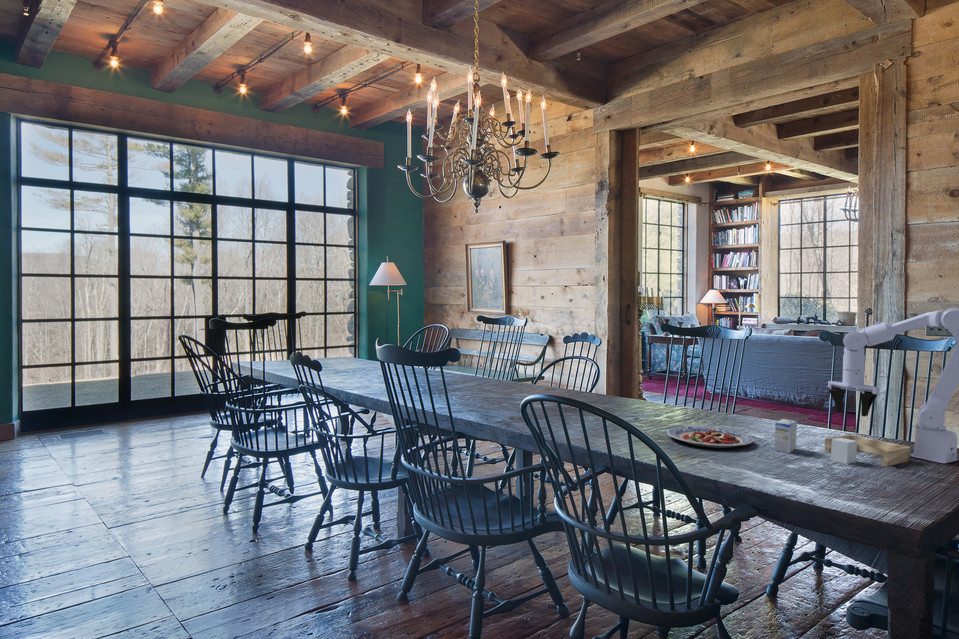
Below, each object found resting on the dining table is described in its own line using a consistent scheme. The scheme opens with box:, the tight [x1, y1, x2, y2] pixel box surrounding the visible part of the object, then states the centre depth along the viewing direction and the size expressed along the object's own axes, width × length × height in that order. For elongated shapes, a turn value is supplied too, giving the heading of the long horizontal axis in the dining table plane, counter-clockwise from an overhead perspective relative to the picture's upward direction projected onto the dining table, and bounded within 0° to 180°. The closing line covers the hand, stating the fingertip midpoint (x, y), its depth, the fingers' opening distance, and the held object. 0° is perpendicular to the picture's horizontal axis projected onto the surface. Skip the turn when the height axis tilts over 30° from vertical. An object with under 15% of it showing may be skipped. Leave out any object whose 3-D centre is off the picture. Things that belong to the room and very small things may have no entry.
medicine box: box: [773, 418, 798, 454], centre depth 184 cm, size 8×4×9 cm, turn 141°
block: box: [830, 438, 858, 465], centre depth 172 cm, size 4×4×6 cm
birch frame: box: [824, 433, 912, 467], centre depth 178 cm, size 17×12×4 cm
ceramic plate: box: [666, 425, 755, 449], centre depth 194 cm, size 26×26×3 cm
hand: (851, 413), depth 188 cm, fingers open, 7 cm apart
